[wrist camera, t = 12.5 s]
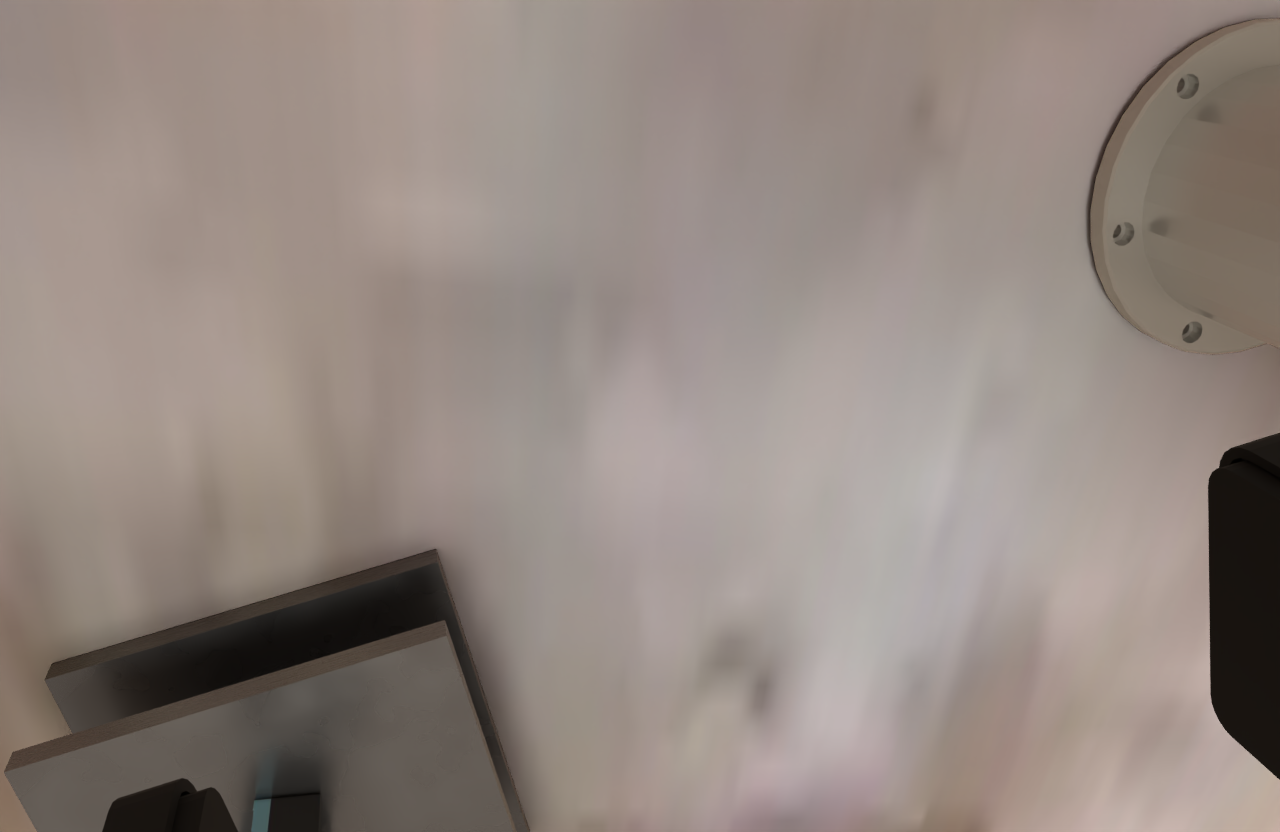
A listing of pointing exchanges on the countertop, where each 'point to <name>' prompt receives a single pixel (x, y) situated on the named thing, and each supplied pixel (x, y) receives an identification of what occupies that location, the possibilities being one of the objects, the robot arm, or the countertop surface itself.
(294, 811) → the push button
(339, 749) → the stand
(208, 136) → the countertop surface
